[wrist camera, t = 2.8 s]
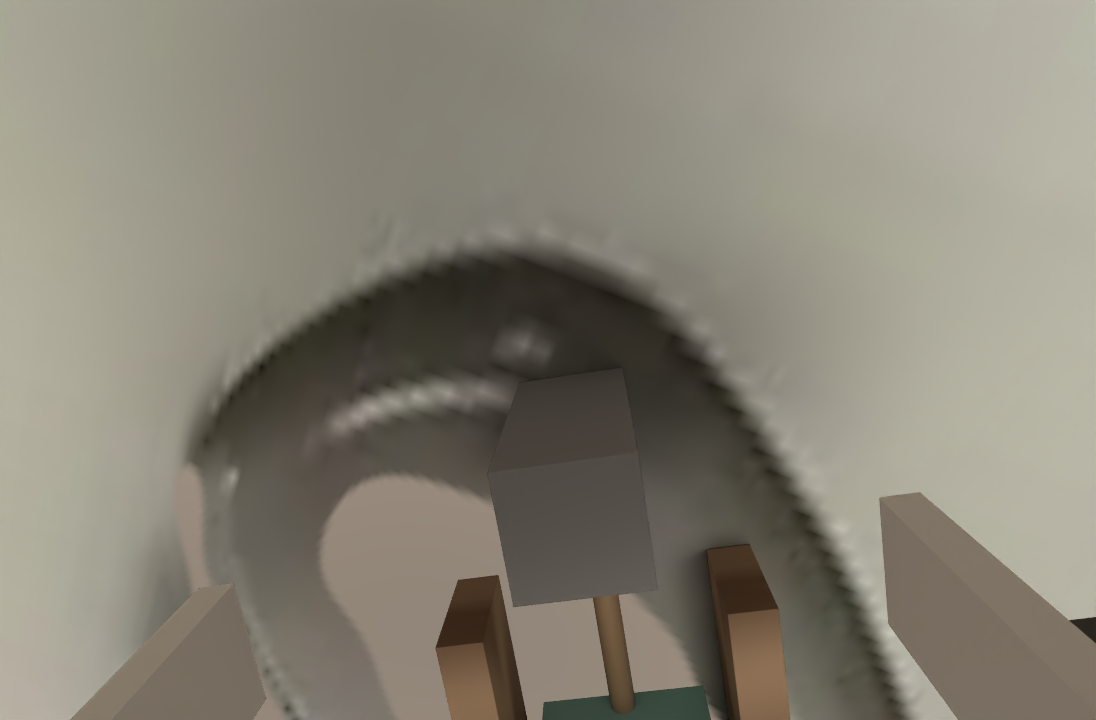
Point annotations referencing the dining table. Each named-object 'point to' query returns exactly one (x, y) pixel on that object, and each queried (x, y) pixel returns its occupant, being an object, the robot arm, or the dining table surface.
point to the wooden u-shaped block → (742, 629)
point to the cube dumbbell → (581, 526)
